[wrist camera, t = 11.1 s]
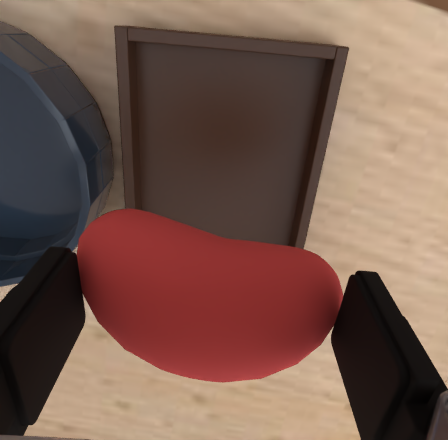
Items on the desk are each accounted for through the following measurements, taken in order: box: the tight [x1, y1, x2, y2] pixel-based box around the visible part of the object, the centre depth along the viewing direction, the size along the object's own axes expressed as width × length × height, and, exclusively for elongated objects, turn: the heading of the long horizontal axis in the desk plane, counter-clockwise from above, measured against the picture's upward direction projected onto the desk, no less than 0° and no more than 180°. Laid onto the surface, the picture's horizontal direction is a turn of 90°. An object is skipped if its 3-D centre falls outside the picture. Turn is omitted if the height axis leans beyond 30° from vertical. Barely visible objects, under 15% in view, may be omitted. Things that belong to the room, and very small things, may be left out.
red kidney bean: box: [77, 209, 343, 382], centre depth 13 cm, size 5×9×6 cm
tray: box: [114, 26, 349, 249], centre depth 21 cm, size 11×15×2 cm
